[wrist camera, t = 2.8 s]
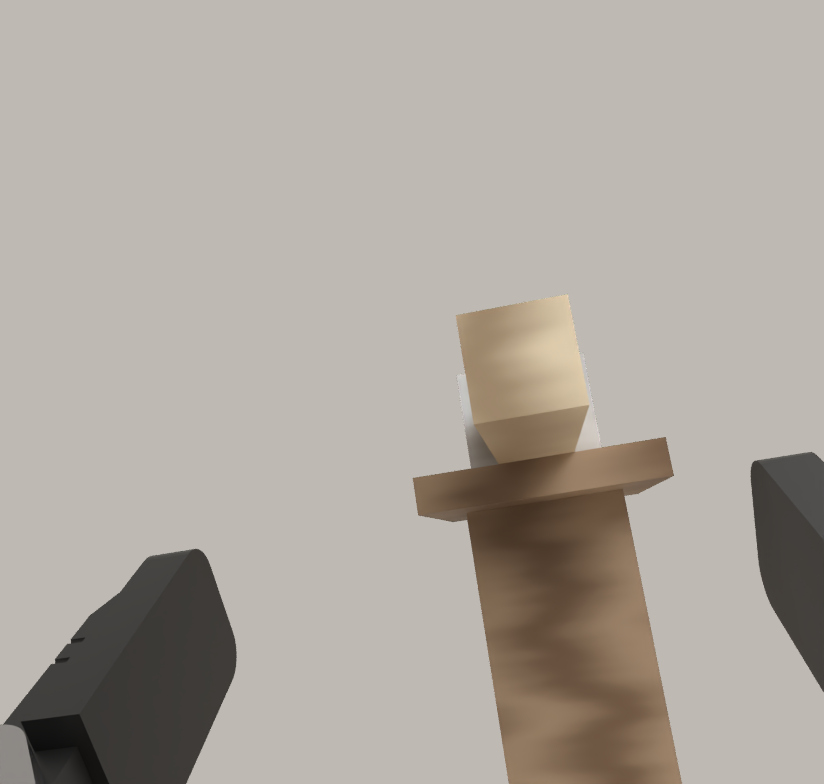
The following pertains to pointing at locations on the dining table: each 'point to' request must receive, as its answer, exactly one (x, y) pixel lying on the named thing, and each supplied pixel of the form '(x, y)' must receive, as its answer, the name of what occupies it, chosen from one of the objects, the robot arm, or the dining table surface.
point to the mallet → (524, 383)
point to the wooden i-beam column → (566, 611)
